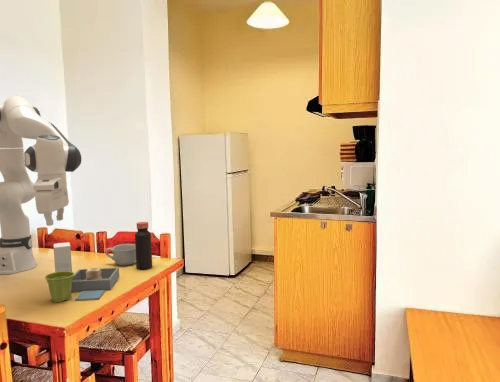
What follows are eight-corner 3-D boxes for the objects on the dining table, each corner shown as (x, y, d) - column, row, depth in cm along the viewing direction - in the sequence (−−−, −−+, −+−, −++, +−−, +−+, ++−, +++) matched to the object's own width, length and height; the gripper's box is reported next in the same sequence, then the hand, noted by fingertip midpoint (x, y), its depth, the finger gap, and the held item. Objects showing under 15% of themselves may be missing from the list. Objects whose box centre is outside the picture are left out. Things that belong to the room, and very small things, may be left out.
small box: (72, 276, 172) (70, 245, 171) (55, 279, 169) (53, 247, 168) (71, 271, 179) (69, 241, 178) (55, 273, 177) (53, 243, 175)
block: (86, 286, 160) (85, 271, 159) (90, 283, 164) (89, 268, 163) (98, 286, 160) (98, 270, 159) (101, 282, 165) (101, 267, 164)
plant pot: (52, 294, 151) (51, 271, 150) (79, 293, 152) (78, 270, 151) (42, 304, 142) (40, 279, 141) (70, 303, 143) (69, 278, 142)
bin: (66, 292, 154) (66, 281, 153) (79, 279, 169) (79, 269, 169) (110, 290, 155) (109, 279, 155) (119, 277, 171) (118, 267, 170)
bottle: (135, 270, 180) (133, 224, 177) (137, 265, 186) (135, 221, 184) (151, 269, 181) (149, 223, 178) (152, 265, 187) (151, 220, 185)
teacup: (141, 260, 195) (140, 243, 194) (132, 267, 184) (131, 249, 183) (112, 260, 196) (111, 243, 195) (102, 267, 186) (101, 249, 185)
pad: (75, 300, 145) (75, 299, 145) (82, 292, 153) (82, 291, 153) (99, 299, 146) (99, 297, 146) (104, 291, 154) (104, 290, 154)
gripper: (53, 180, 153) (56, 217, 154) (30, 185, 133) (33, 228, 134) (71, 180, 154) (74, 217, 155) (51, 185, 133) (54, 228, 135)
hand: (55, 222), depth 145 cm, fingers open, 8 cm apart
